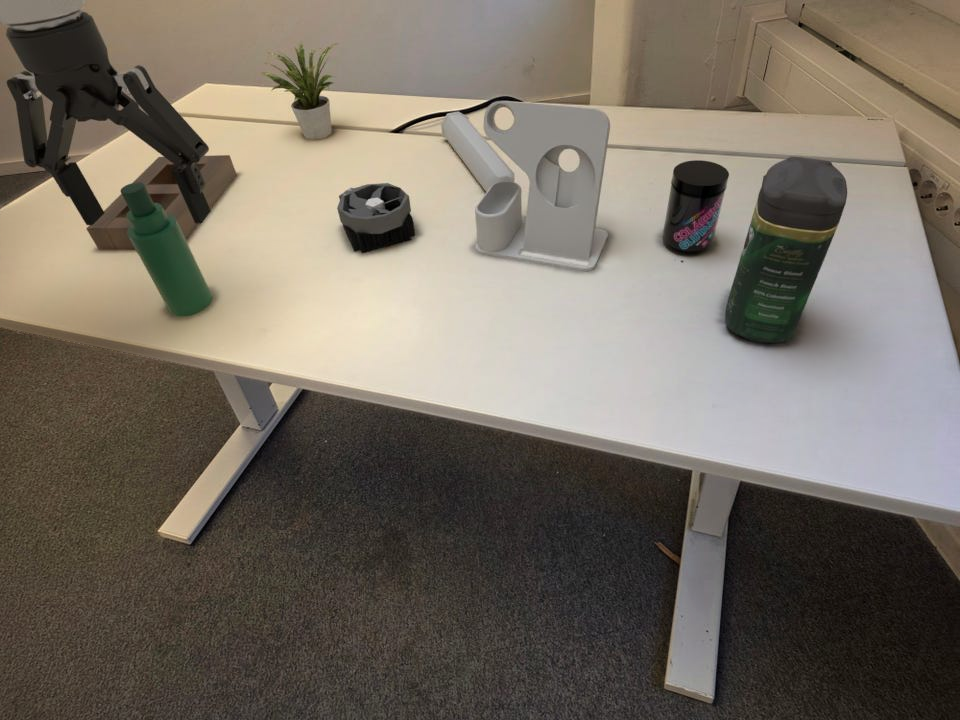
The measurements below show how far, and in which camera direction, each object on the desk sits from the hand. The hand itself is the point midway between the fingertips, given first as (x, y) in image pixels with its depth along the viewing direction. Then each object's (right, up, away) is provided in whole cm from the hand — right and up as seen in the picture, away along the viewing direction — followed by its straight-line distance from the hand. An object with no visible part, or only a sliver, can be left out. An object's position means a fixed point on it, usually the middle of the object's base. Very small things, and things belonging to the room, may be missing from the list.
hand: (149, 218), depth 71 cm
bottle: (+1, -9, +9) cm, 13 cm away
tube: (+39, +16, +32) cm, 53 cm away
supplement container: (+68, -1, +12) cm, 69 cm away
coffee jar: (+72, -12, 0) cm, 73 cm away
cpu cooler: (+24, +2, +19) cm, 31 cm away
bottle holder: (-11, +8, +28) cm, 31 cm away
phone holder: (+48, 0, +14) cm, 50 cm away
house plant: (+8, +28, +47) cm, 55 cm away
